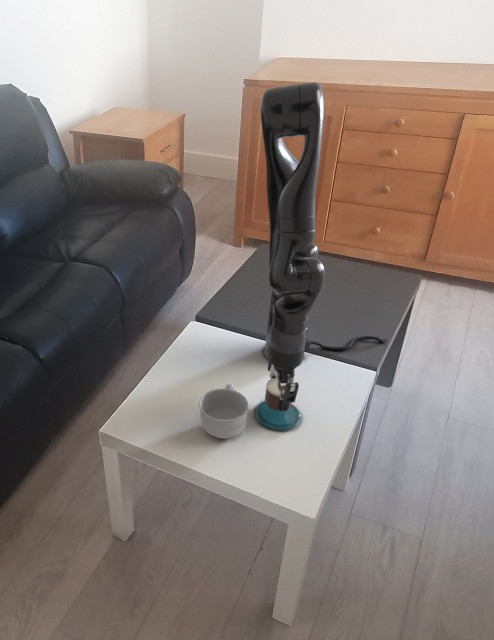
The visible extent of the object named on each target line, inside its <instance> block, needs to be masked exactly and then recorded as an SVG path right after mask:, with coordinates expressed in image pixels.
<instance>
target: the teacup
mask: <svg viewBox="0 0 494 640" xmlns="http://www.w3.org/2000/svg"><path fill="white" fill-rule="evenodd" d="M198 403H199V404H198V405H199V410H200V411H199V414H200V415H199V417H200V422H201V425H202V427H203V429H204V430H205V431H206V432H207V434H209V435H210V436H212V437H215V438H217V439H232V438H235V437H237V436H239V435H241V433H242V432H243V431H244V430H245V428H246V426H247V422H248V415H249V414H248V413H249V412H248V411H249V401H248V399H247V398H246V397H245V396H244V395H243V394H242V393H241V392H238V391H237V390H234V384H233V383H230V382H228V383H226V385H225V388H216V389H212V390H209V391H207V392H206V393H204V394H203V395H202V396H201V398H200V399H199V402H198Z"/></svg>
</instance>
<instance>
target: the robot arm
mask: <svg viewBox="0 0 494 640" xmlns="http://www.w3.org/2000/svg"><path fill="white" fill-rule="evenodd" d="M324 107H325V105H324V94H323V89H322V87H321V85H320V83H318V82H316V81H312V82H311V81H309V82H303V83H295V84H288V85H279V86H274V87H270V88H268V89H266V90H265V91H263V94H262V95H261V100H260V110H259V113H260V125H261V133H262V140H263V147H264V156H265V165H266V166H265V167H266V168H265V169H266V171H265V172H266V200H267V202H266V203H267V212H268V224H269V225H268V227H269V238H268V239H269V241H268V268H269V273H268V283H269V287H270V288H271V295H270V303H269V312H268V321H267V329H266V337H265V345H264V355H265V357H266V358H267V372H269V378H270V379H272V378H277V389H279V403H278V410H279V411H287V410H288V409H289V403H292V404H294V403H295V402H296V399H297V395H298V391H299V388H300V384H299V382H298V381H297V382H295V375H296V371H295V369H296V368H298V367H299V366H301V365H302V363H303V361H304V356H305V353H306V352H310V347H311V345H316V346H318V347H320V348H322V349H325V350H329V351H346V350H348V349H350V348H351V347H352V346H353V345H354V343H356V342H358V341H363V340H374V341H378V342H379V343H381V344H386V342H385V340H384V339H383V338H381V337H380V336H379V337H378V336H375V335H363V336H357V337H354V338H352V339H351V340H350V341H349V343H348V344H347V345H345V346H331V345H325V344H323V343H322V342H320V341H317V340H310V339H309V338H308V331H309V330H308V323H309V318H310V312H311V310H312V308H313V307H314V305H315V302H316V300H317V299H318V297H319V295H320V293H321V291H322V289H323V287H324V284H325V279H326V272H325V266H324V264H323V263H322V261H321V260H320V259H319V253H320V252H319V247H318V245H317V244H315V243H314V242H315V239H316V194H317V184H318V175H319V168H320V160H321V151H322V150H321V148H322V138H323V129H324V127H323V125H324V114H325V113H324V112H325V111H324V110H325V109H324ZM294 137H303V138H304V142H303V147H302V152H301V156H300V158H299V160H298V159H297V158H296V157H295V156H294V155H293V154H292V152H290V151H289V149H288V148H287V146H286V145H285V142H284V140H283V139H285V138H294ZM281 383H286V385H282V386H281ZM283 390H284V394H283Z"/></svg>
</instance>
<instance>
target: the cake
mask: <svg viewBox="0 0 494 640" xmlns="http://www.w3.org/2000/svg"><path fill="white" fill-rule="evenodd" d="M282 385H286V383H281V386H282ZM283 394H284V390H283ZM264 401H265V404H266V405H267V406H268V407H269V408H270V409H272V410H275V411H279V410H278V403H279V389H277V378H272V379H271V378H270V379H269V380H268V381H267V382H266V386H265V395H264ZM291 404H292V405H293V403H289V408H290V407H291Z"/></svg>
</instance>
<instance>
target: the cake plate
mask: <svg viewBox="0 0 494 640" xmlns="http://www.w3.org/2000/svg"><path fill="white" fill-rule="evenodd" d="M255 417H256V420H257V421H258V422H259V423H260V424H261V425H262V426H263V427H265V428H267V429H270V430H272V431H278V432H285V431H291V430H292V429H295V428H296V427H297V426H298V424H299V423H300V421H301V413H300V411H299V409H298V408H297V407H296V406H295V405H294V404H293V403H292V404H291V407H290V408H289V409H288V410H287V411H275V410H272V409H270V408H269V407H268V406H267V405H266V404H265V400H264V401H262V402H260V403H259V404H258V405H257V407H256V408H255Z"/></svg>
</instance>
